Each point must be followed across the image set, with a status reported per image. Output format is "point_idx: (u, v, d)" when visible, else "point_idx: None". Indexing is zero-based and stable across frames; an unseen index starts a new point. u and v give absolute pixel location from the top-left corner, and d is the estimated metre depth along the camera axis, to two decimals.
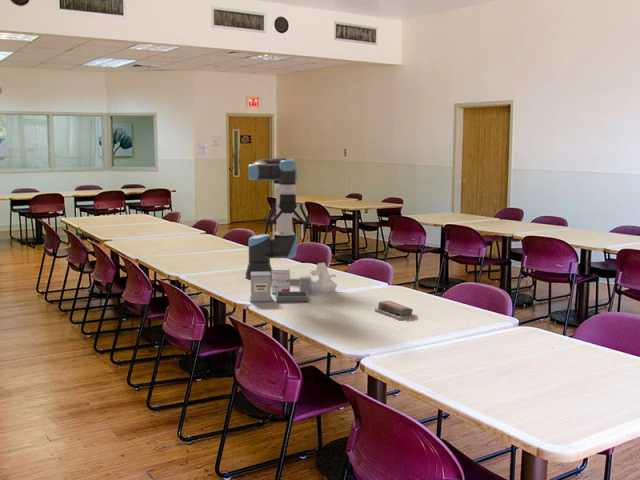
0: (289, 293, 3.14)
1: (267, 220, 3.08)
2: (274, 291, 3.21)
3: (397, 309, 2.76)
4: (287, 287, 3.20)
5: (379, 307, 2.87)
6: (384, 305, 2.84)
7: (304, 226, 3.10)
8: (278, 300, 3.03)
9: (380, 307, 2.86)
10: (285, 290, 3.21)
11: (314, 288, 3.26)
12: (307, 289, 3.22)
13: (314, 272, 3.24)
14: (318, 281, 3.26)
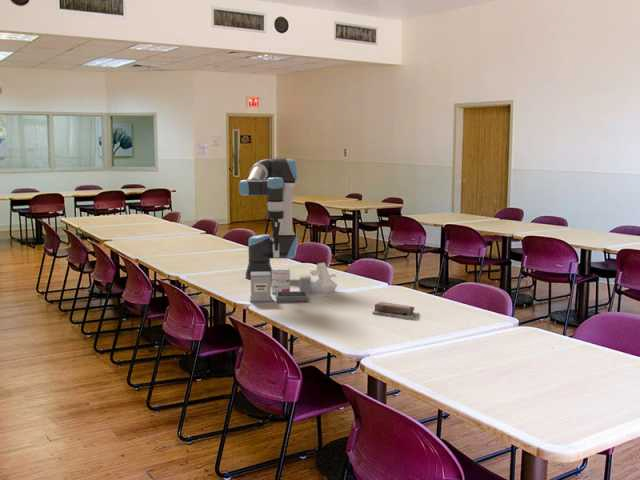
0: (289, 293, 3.14)
1: None
2: (274, 291, 3.21)
3: (403, 309, 2.76)
4: (287, 287, 3.20)
5: (376, 309, 2.83)
6: (384, 307, 2.81)
7: (274, 245, 3.06)
8: (278, 300, 3.03)
9: (377, 309, 2.83)
10: (285, 290, 3.21)
11: (314, 288, 3.26)
12: (307, 289, 3.22)
13: (314, 272, 3.24)
14: (318, 281, 3.26)
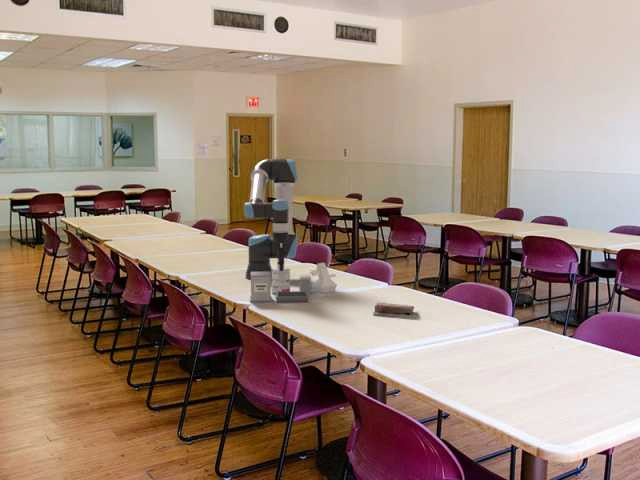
0: (289, 293, 3.14)
1: (277, 254, 3.30)
2: (274, 291, 3.21)
3: (406, 308, 2.77)
4: (287, 287, 3.20)
5: (376, 310, 2.81)
6: (384, 307, 2.80)
7: (279, 265, 3.13)
8: (278, 300, 3.03)
9: (378, 310, 2.81)
10: (285, 290, 3.21)
11: (314, 288, 3.26)
12: (307, 289, 3.22)
13: (314, 272, 3.24)
14: (318, 281, 3.26)
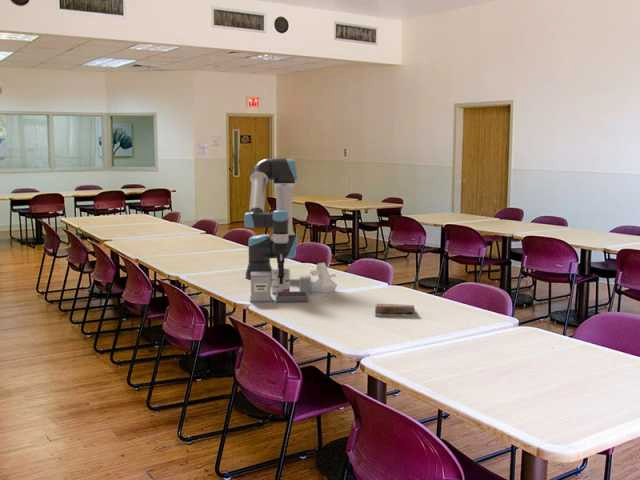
0: (289, 293, 3.14)
1: None
2: (274, 291, 3.21)
3: (408, 308, 2.78)
4: (287, 287, 3.20)
5: (378, 311, 2.79)
6: (386, 308, 2.78)
7: (279, 279, 3.18)
8: (278, 300, 3.03)
9: (379, 311, 2.79)
10: (285, 290, 3.21)
11: (314, 288, 3.26)
12: (307, 289, 3.22)
13: (314, 272, 3.24)
14: (318, 281, 3.26)
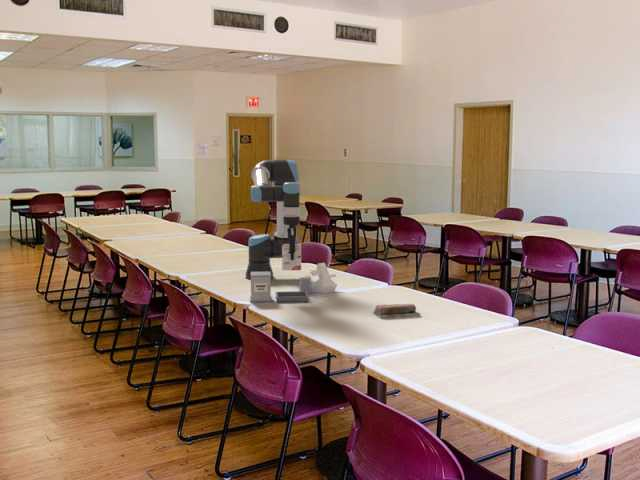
0: (289, 293, 3.14)
1: None
2: (285, 268, 3.05)
3: (410, 307, 2.79)
4: (298, 263, 3.04)
5: (382, 313, 2.76)
6: (390, 309, 2.77)
7: (290, 254, 3.02)
8: (278, 300, 3.03)
9: (383, 313, 2.76)
10: (296, 267, 3.04)
11: (314, 288, 3.26)
12: (307, 289, 3.22)
13: (314, 272, 3.24)
14: (318, 281, 3.26)
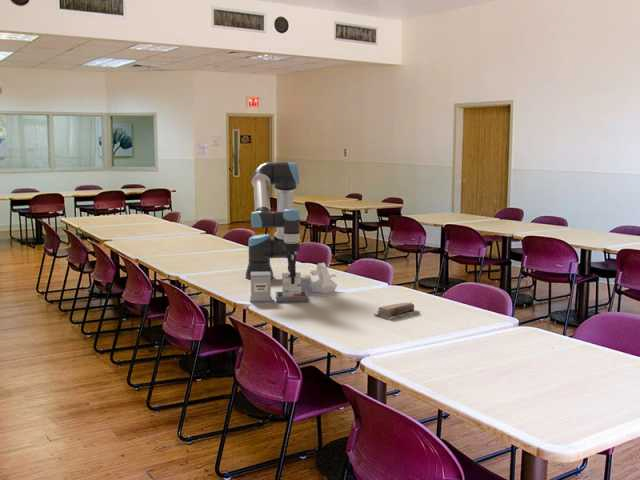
0: None
1: None
2: (285, 296, 3.08)
3: (410, 306, 2.82)
4: (299, 292, 3.07)
5: (390, 315, 2.74)
6: (395, 309, 2.76)
7: (291, 278, 3.00)
8: (278, 300, 3.03)
9: (390, 314, 2.74)
10: (297, 295, 3.07)
11: (314, 288, 3.26)
12: (307, 289, 3.22)
13: (314, 272, 3.24)
14: (318, 281, 3.26)
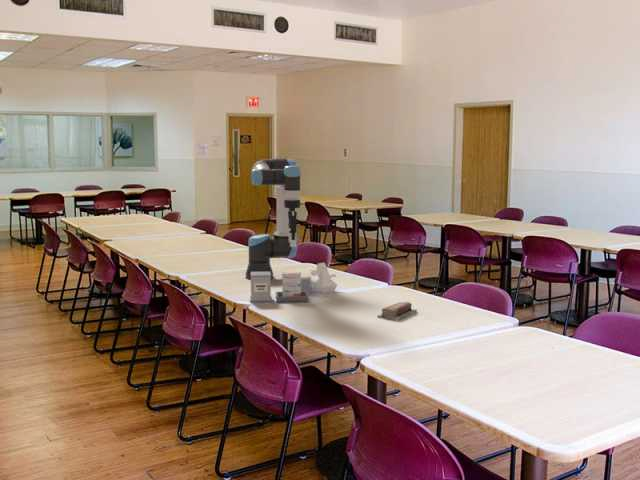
0: None
1: None
2: (285, 296, 3.08)
3: (408, 305, 2.83)
4: (299, 292, 3.07)
5: (395, 315, 2.73)
6: (399, 309, 2.76)
7: (291, 234, 3.01)
8: (278, 300, 3.03)
9: (396, 314, 2.74)
10: (297, 295, 3.07)
11: (314, 288, 3.26)
12: (307, 289, 3.22)
13: (314, 272, 3.24)
14: (318, 281, 3.26)
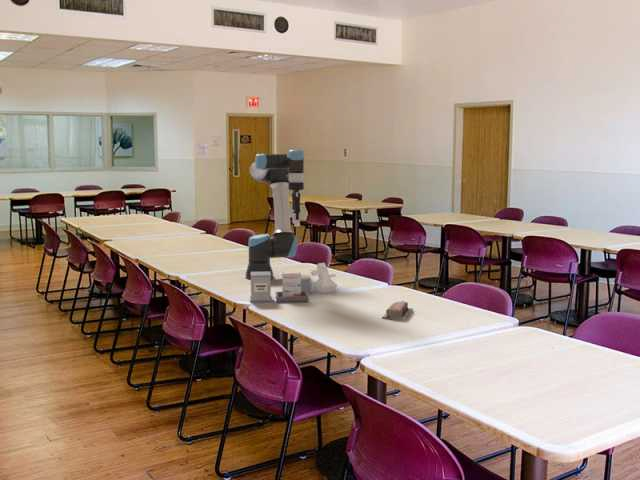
0: None
1: (292, 205, 3.34)
2: (285, 296, 3.08)
3: (406, 304, 2.85)
4: (299, 292, 3.07)
5: (401, 315, 2.73)
6: (403, 309, 2.76)
7: (295, 214, 3.17)
8: (278, 300, 3.03)
9: (401, 314, 2.74)
10: (297, 295, 3.07)
11: (314, 288, 3.26)
12: (307, 289, 3.22)
13: (314, 272, 3.24)
14: (318, 281, 3.26)
